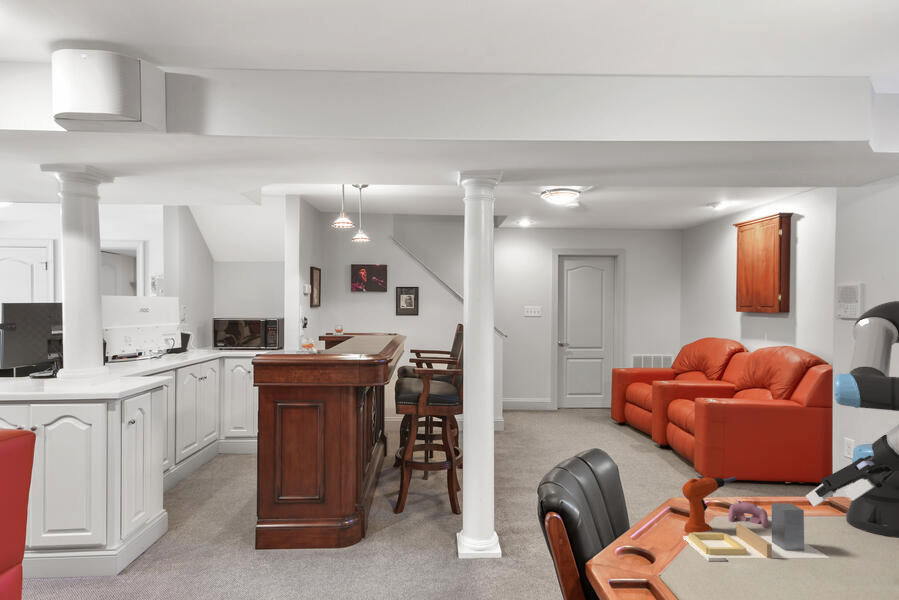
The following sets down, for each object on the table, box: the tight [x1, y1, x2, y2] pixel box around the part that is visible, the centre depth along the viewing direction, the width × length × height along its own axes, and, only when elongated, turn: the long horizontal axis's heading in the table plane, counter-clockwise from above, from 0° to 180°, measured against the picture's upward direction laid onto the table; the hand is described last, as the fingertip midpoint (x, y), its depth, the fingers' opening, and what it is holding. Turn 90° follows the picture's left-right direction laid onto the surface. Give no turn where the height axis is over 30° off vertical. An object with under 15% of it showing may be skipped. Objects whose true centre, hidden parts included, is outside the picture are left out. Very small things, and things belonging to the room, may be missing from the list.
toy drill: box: [681, 476, 737, 534], centre depth 148 cm, size 5×19×15 cm, turn 108°
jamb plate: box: [682, 523, 830, 562], centre depth 135 cm, size 30×13×4 cm, turn 92°
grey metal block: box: [771, 502, 805, 551], centre depth 135 cm, size 5×5×10 cm
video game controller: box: [727, 501, 769, 529], centre depth 152 cm, size 10×5×7 cm, turn 58°
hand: (829, 498), depth 125 cm, fingers open, 13 cm apart
